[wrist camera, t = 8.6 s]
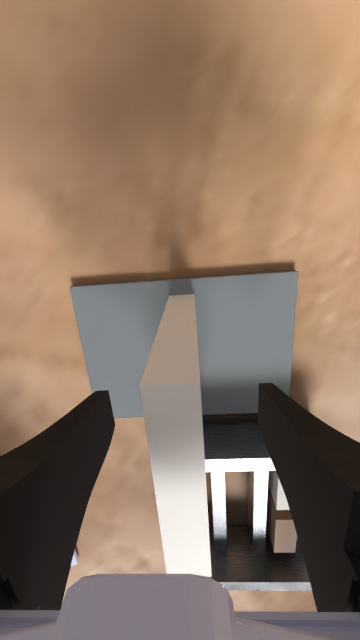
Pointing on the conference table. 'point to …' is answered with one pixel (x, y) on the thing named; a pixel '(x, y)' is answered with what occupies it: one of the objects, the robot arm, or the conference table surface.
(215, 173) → the conference table surface
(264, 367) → the mat
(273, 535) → the offcut walnut
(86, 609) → the robot arm
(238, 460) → the rack
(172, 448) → the sheet
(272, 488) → the offcut grey
